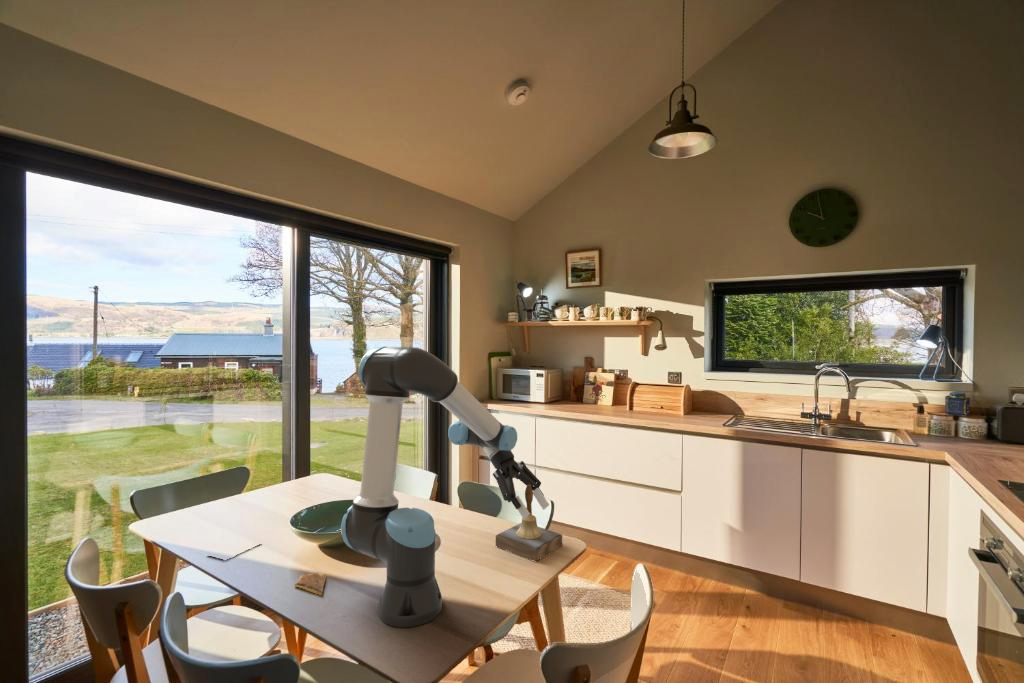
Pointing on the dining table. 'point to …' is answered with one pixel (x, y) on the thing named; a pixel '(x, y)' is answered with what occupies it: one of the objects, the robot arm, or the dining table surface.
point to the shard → (312, 582)
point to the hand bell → (529, 519)
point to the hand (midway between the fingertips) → (536, 511)
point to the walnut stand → (529, 543)
